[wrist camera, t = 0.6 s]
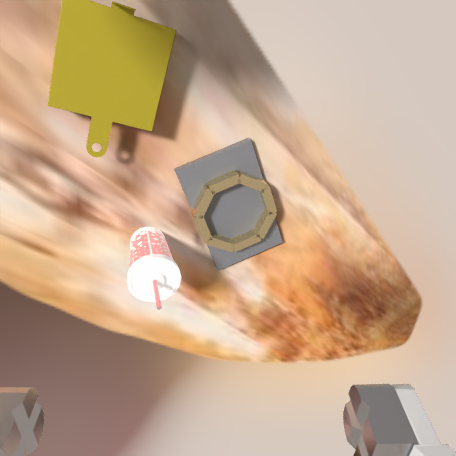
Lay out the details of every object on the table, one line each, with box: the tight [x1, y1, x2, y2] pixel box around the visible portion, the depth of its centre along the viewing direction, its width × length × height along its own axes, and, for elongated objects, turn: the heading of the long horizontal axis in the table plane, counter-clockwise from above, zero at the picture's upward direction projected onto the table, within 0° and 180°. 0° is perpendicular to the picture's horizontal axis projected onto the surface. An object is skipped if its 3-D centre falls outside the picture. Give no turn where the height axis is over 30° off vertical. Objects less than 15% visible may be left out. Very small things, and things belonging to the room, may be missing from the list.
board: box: [175, 138, 283, 270], centre depth 55 cm, size 16×10×1 cm, turn 19°
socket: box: [192, 170, 277, 252], centre depth 54 cm, size 10×10×2 cm
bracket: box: [48, 0, 176, 157], centre depth 42 cm, size 16×8×15 cm
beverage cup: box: [127, 227, 181, 310], centre depth 49 cm, size 6×6×14 cm
